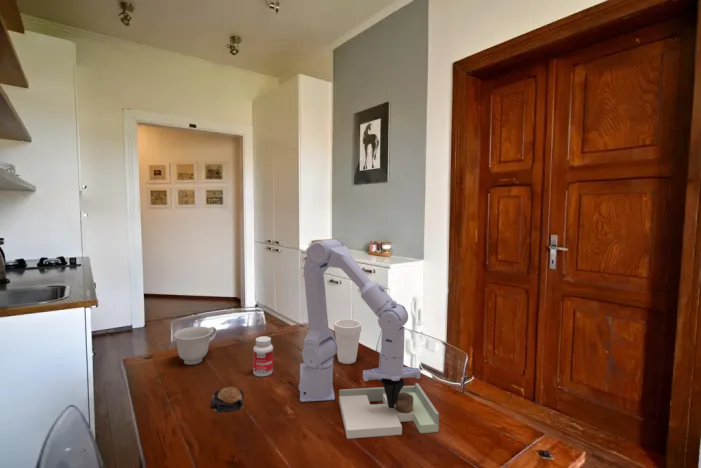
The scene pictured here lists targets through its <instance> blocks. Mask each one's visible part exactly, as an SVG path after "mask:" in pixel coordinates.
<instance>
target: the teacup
mask: <svg viewBox="0 0 701 468" xmlns="http://www.w3.org/2000/svg"><path fill="white" fill-rule="evenodd" d="M211 334H212V335H211ZM216 336H217V328H216V327H215V326H210V327H207V326H191V327H185V328H181V329H178V330H177V331H175V332H174V333H173V338H174V339H175V342H176V346H177V348H176V349H177V354H178V356H179V358H180V359H181V360H183V363H184V365H190V366H191V365H198V364H200V363H201V362H202V361H203V358H204V357H205V356H206V355H207V354H208V351H209V346H210V342H211V341H213V340H214V339H215V338H216Z"/></svg>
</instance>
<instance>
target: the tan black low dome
mask: <svg viewBox="0 0 701 468" xmlns="http://www.w3.org/2000/svg"><path fill="white" fill-rule="evenodd" d="M244 396H245V395H244V391H243V390H241V389H238V388H237V387H234V386H229V387H223V388H221V390H219V389H218V390H216V391H215V392H214V393H213V394H212V400H211V407H212V411H215V412H216V414H221V413H227V412H236V411H239V410H243V409H244V403H245V402H244Z"/></svg>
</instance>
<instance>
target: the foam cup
mask: <svg viewBox="0 0 701 468" xmlns="http://www.w3.org/2000/svg"><path fill="white" fill-rule="evenodd" d="M333 329H334V330H333V332H334V338H335V341H336V342H337V346H338V350H337V353H336V354H337V355H336V357H337V360H338V362H339V363H341V364H347V365H350V364H354V363H355V362H356V361H357V356H358V349H359V343H360V336H361V332H362V322H361V321H359V320H356V319H350V318H348V319H347V318H346V319H345V318H343V319H339V320H336V321H335V322H334V323H333Z"/></svg>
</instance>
